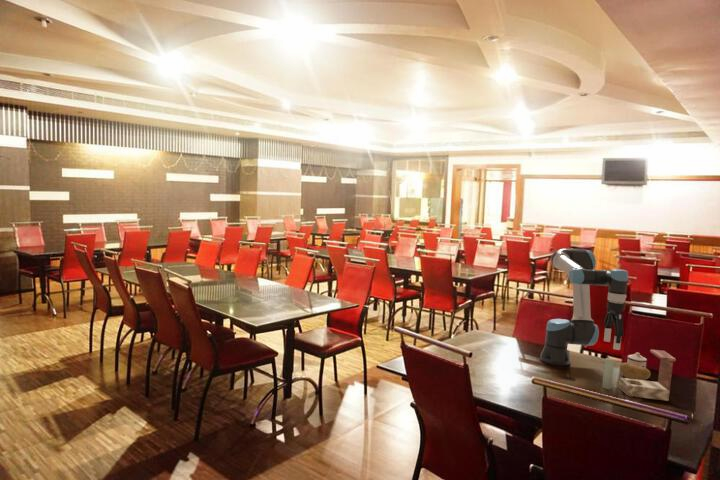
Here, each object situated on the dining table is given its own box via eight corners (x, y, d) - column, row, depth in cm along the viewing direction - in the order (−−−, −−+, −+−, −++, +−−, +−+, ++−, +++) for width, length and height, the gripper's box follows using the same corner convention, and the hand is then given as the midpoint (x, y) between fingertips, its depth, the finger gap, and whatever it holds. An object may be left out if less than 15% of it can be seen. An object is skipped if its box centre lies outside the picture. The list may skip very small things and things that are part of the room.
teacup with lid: (642, 379, 246) (645, 357, 245) (623, 373, 252) (625, 352, 251) (649, 373, 254) (651, 352, 253) (630, 368, 260) (632, 348, 259)
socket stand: (626, 396, 221) (631, 354, 219) (617, 386, 232) (622, 346, 231) (670, 401, 217) (675, 358, 216) (659, 391, 229) (664, 350, 227)
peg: (603, 388, 229) (606, 360, 228) (601, 385, 233) (604, 357, 231) (612, 389, 228) (615, 361, 227) (609, 386, 232) (612, 358, 231)
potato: (647, 386, 235) (649, 371, 234) (616, 378, 244) (618, 363, 243) (651, 381, 242) (653, 366, 241) (621, 373, 251) (622, 359, 251)
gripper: (634, 308, 214) (629, 354, 216) (615, 297, 238) (611, 339, 240) (617, 306, 215) (612, 352, 217) (599, 296, 240) (595, 337, 241)
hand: (611, 345), depth 228 cm, fingers open, 13 cm apart
